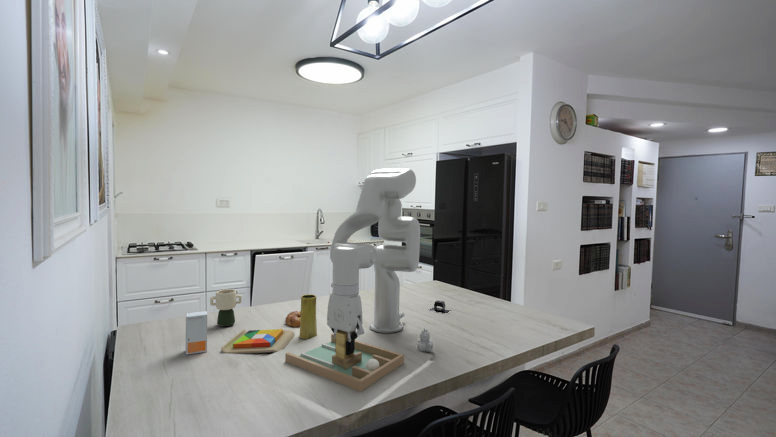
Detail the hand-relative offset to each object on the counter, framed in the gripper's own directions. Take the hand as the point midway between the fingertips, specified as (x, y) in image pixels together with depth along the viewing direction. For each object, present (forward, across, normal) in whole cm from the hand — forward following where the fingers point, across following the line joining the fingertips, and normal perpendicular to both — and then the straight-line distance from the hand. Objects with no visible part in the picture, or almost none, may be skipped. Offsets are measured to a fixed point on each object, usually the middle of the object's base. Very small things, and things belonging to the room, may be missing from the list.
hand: (344, 351), depth 106 cm
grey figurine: (+5, +14, +23) cm, 27 cm away
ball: (+3, +10, 0) cm, 11 cm away
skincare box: (+5, -44, -20) cm, 49 cm away
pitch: (+4, 0, 0) cm, 4 cm away
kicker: (+3, +1, 0) cm, 3 cm away
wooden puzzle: (+5, -34, -4) cm, 35 cm away
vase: (+5, -26, +10) cm, 28 cm away
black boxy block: (+5, -3, +66) cm, 67 cm away
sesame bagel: (+5, -40, +18) cm, 44 cm away
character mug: (+5, -59, -1) cm, 59 cm away
